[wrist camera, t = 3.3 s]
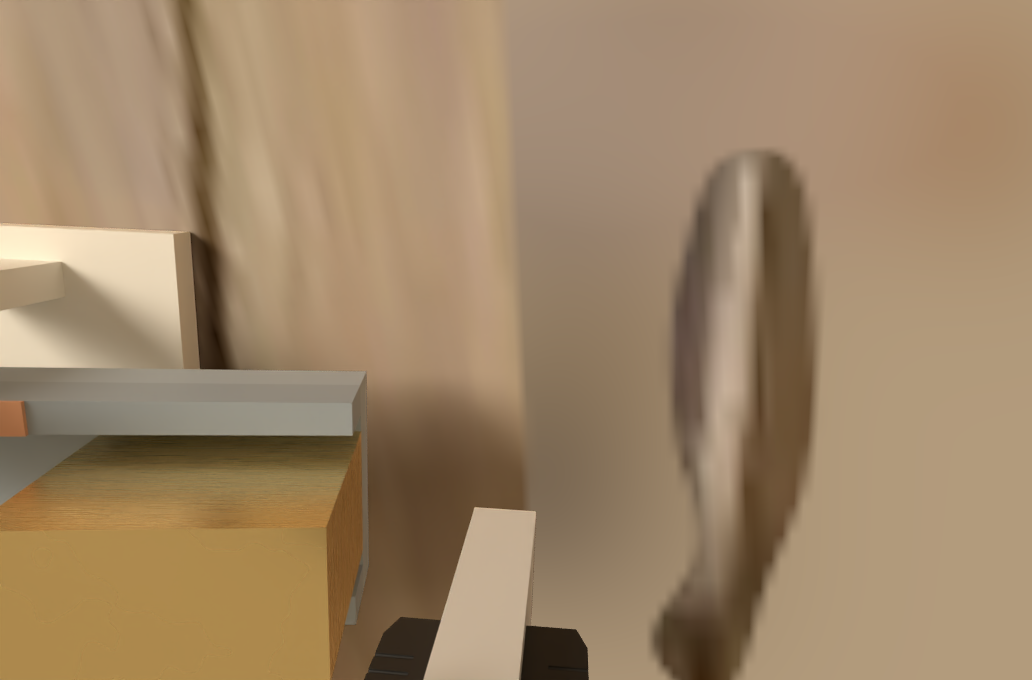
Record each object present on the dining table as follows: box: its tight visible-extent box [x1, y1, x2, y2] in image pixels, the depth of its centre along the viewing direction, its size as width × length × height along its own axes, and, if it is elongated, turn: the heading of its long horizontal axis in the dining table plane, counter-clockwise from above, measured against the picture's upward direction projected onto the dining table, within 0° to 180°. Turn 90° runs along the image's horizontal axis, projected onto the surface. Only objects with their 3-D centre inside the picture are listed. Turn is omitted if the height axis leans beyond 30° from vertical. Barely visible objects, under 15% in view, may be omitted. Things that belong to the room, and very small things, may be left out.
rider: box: [0, 431, 363, 680], centre depth 16 cm, size 4×7×6 cm, turn 87°
